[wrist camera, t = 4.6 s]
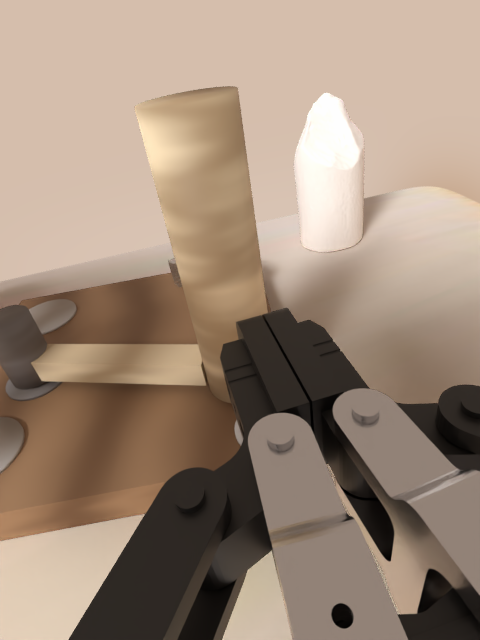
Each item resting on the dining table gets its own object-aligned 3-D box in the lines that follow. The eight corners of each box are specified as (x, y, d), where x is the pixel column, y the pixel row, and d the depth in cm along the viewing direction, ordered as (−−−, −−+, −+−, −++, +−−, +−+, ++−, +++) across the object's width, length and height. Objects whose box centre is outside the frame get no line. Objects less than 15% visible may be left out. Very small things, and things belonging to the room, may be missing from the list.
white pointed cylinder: (315, 104, 28) (274, 100, 33) (322, 259, 35) (287, 238, 39) (383, 86, 30) (336, 85, 34) (376, 237, 37) (337, 220, 41)
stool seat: (-97, 558, 18) (-130, 534, 17) (32, 320, 34) (20, 298, 33) (317, 480, 18) (315, 450, 17) (257, 278, 34) (253, 254, 33)
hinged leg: (-2, 394, 23) (-169, 155, 15) (34, 353, 26) (-94, 133, 18) (271, 405, 19) (225, 99, 12) (279, 356, 22) (246, 82, 15)
